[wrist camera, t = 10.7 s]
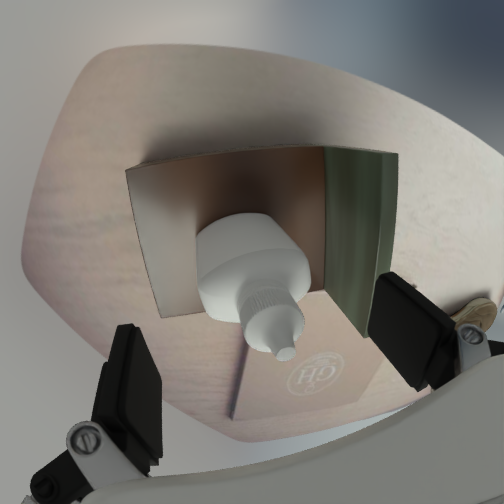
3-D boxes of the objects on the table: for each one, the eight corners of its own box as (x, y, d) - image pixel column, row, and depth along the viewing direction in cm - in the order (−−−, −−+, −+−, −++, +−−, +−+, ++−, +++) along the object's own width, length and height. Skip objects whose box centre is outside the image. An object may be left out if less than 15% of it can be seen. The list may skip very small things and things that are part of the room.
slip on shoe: (492, 292, 41) (518, 312, 33) (472, 334, 45) (495, 355, 37) (410, 309, 35) (448, 344, 27) (385, 364, 39) (413, 401, 31)
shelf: (165, 288, 26) (154, 382, 15) (139, 164, 21) (87, 187, 10) (314, 263, 28) (377, 334, 17) (311, 143, 23) (399, 153, 12)
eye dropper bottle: (204, 198, 18) (220, 289, 7) (280, 216, 20) (374, 309, 9) (190, 256, 20) (194, 389, 9) (263, 270, 21) (326, 391, 10)
